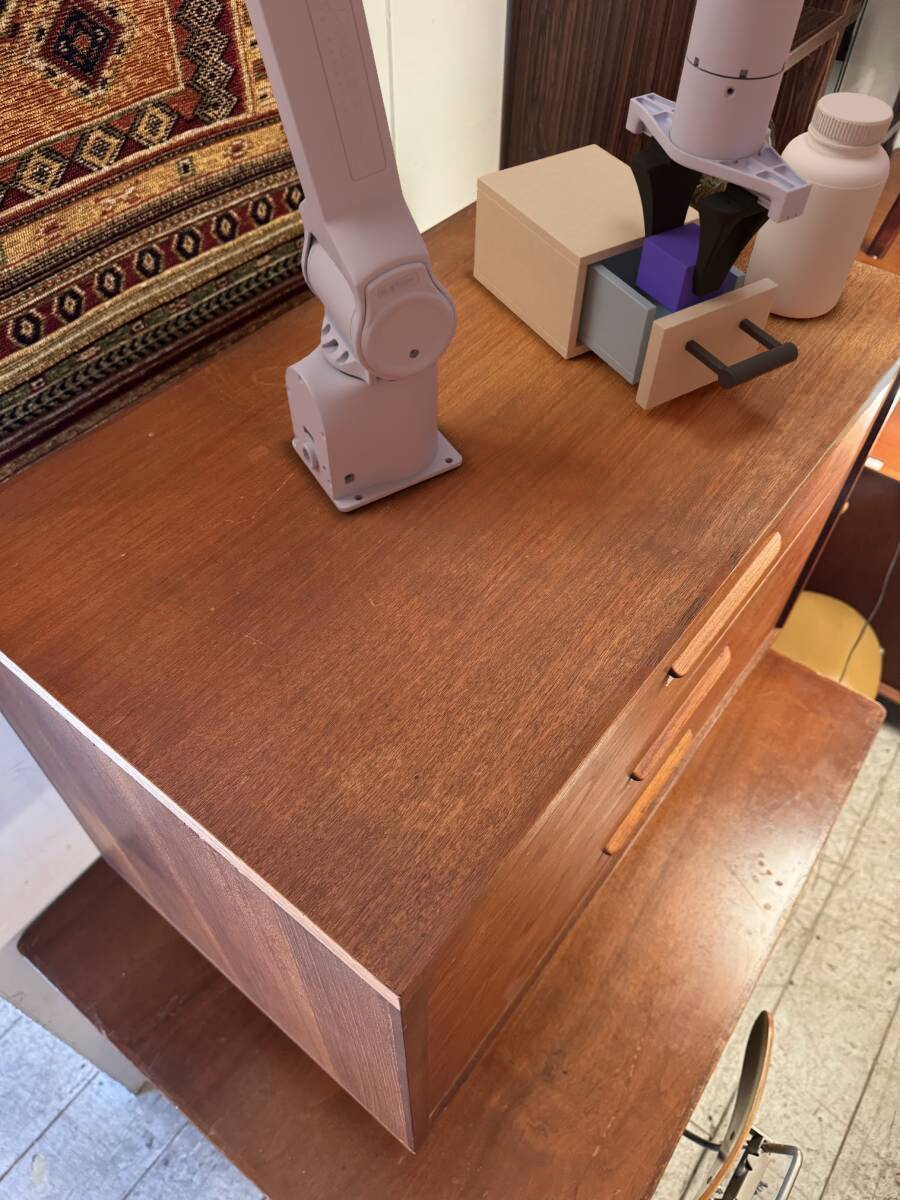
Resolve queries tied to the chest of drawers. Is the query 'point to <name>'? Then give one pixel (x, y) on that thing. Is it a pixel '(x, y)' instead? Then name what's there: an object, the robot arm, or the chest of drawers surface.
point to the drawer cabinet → (555, 235)
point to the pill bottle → (826, 205)
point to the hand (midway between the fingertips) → (682, 273)
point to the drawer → (678, 332)
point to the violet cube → (672, 268)
